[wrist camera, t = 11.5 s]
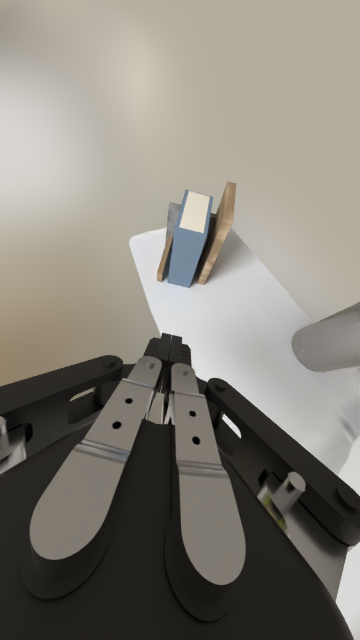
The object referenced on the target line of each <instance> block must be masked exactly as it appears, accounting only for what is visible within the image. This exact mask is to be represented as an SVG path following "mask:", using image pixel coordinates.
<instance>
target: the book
mask: <svg viewBox="0 0 360 640" xmlns="http://www.w3.org/2000/svg"><path fill="white" fill-rule="evenodd" d="M212 201H213V197H211V196H207V195H204V194H200V193H196V192H193V191H188V190H185V194H184V197H183V201H182V205H181V208H180V212H179V215H178V219H177V223H176V226H175V232H174V239H173V246H172V254H171V261H170V268H169V275H168V282H167V283H171V284H175V285H179V286H183V287H188V288H189V287H190V284H191V281H192V279H193V276H194V273H195V270H196V267H197V264H198V261H199V258H200V255H201V252H202V249H203V246H204V243H205V240H206V237H207V233H208V226H209V220H210V214H211V207H212Z"/></svg>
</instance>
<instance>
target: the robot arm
mask: <svg viewBox="0 0 360 640" xmlns="http://www.w3.org/2000/svg"><path fill="white" fill-rule="evenodd" d="M171 337H172V339H171ZM292 346H293V350H294V353H295V355H296V357H297V358H298V360H299V361H300V362H301V363H302V364H303V365H304V366H305V367H307V368H308V369H310V370H313V371H316V372H325V371H331V370H337V369H343V368H349V367H355V366H360V302H359V303H357V304H355V305H353V306H351V307H348V308H346V309H344V310H342V311H340V312H338V313H336V314H334V315H331V316H329V317H327V318H325V319H323V320H321V321H319V322H317V323H315V324H312V325H310V326H308V327H306V328H304V329H302V330H300V331H298V332H297V333H296V334H295V335H294V337H293V340H292ZM163 377H164V378H163ZM162 381H163V383H162ZM161 385H162V389H161ZM91 388H93V392H90V393H88V394H86V395H84V396H81V397H79V398H77V399H75V400H72V401H70V399H71V398H72V397H73V396H75V395H77V394H79V393H81V392H83V391H86V390H88V389H91ZM160 389H161V393H164V399H163V402H162V413H161V424H155V423H153V422H151V421H148V418H149V415H150V411H151V408H152V405H153V401H154V399H155V397H156V394H157V392H160ZM69 401H70V402H69ZM224 414H225V415H226V416H227V417H228V418H229V419H230V420H231V421H232V422H233V423H234V424H235V425H236V426H237V427H238V429H239V430H240V433H241V439H240V438H239V436H238V435H237V434H236V433H235V432H234V431H233V430H232V429H231V428H230V427H229V426H228V425H227V424H226V423H225V422H224V420H223V419H222V417H223V415H224ZM359 542H360V496H359V495H358V494H357V493H356V492H355V491H354V490H353V489H352V488H351V487H350V486H348V485H347V484H346V483H345V482H344V481H343V480H341V479H340V478H339V477H338V476H337V475H335V474H334V473H333V472H332V471H331V470H330V469H328V468H327V467H326V466H325V465H324V464H323V463H321V462H320V461H319V460H318V459H317V458H315V457H314V456H313V455H312V454H311V453H310V452H308V451H307V450H306V449H305V448H304V447H302V446H301V445H300V444H299V443H298V442H297V441H295V440H294V439H293V438H292V437H291V436H290V435H288V434H287V433H286V432H285V431H284V430H282V429H281V428H280V427H279V426H278V425H277V424H275V423H274V422H273V421H272V420H271V419H270V418H268V417H267V416H266V415H265V414H264V413H262V412H261V411H260V410H259V409H258V408H257V407H255V406H254V405H253V404H252V403H251V402H250V401H248V400H247V399H246V398H245V397H244V396H242V395H241V394H240V393H239V392H238V391H237V390H235V389H234V388H233V387H232V386H231V385H229V384H228V383H227V382H226V381H224V380H222V379H219V378H211V379H209V381H208V382H205V381H203V380H201V379H199V378H198V377H196V375H195V371H194V369H193V368H192V366H191V349H190V348H189V346H188V345H186V344H182V337H179V336H175V335H170V334H166V333H162V336H161V339H159V338H153V339H151V340H150V341H149V344H148V346H147V348H146V351H145V353H144V356H143V357H141V358H140V359H139V360H138V361H137V363H135V364H127V365H126V364H123V361H122V360H121V359H120V358H119V357H117V356H112V355H106V356H101V357H98V358H95V359H91V360H88V361H85V362H81V363H78V364H75V365H71V366H68V367H64V368H61V369H58V370H55V371H51V372H48V373H45V374H41V375H38V376H34V377H31V378H28V379H25V380H21V381H18V382H14V383H11V384H8V385H4V386H1V387H0V640H354V639H353V636H352V634H351V632H350V630H349V627H348V625H347V623H346V621H345V619H344V617H343V615H342V613H341V612H340V610H339V608H338V606H337V604H336V602H335V601H336V597H337V593H338V589H339V584H340V580H341V576H342V572H343V567H344V563H345V559H346V555H347V552H349V551H350V550H351V549H352V548H353V547H354V546H355V545H356V544H358V543H359Z"/></svg>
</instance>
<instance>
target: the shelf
mask: <svg viewBox="0 0 360 640" xmlns="http://www.w3.org/2000/svg"><path fill="white" fill-rule="evenodd" d="M235 190H236V184H235V183H232V182H227V185H226V188H225V190H224V193H223V196H222V199H221V202H220V205H219V208H218V210H217V213H216V214H213V213H211V214H210V220H209V226H208V233H207V237H206V240H205V243H204V246H203V249H202V252H201V255H202V261H201V267H200V273H199V279H198V283H199V284H203V285H204V284H205V282H206V279H207V277H208V275H209V273H210V271H211V269H212V266H213V264H214V262H215V260H216V258H217V255H218V253H219V251H220V249H221V247H222V244H223V242H224V240H225V238H226V236H227V234H228V231H229V229H230V227H231V225H232V223H233V216H234V203H235ZM180 208H181V205H180V204H176V203H172V202H170V204H169V211H168V221H167V232H166V243H165V249H164V252H163V255H162V259H161V262H160V265H159V269H158V272H157V281H160V282H162V278H163V275H164V271H165V268H166V264H167V260H168V257H169V253H170V250H171V247H172V246H173V239H174V232H175V226H176V223H177V219H178V215H179V212H180Z"/></svg>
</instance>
